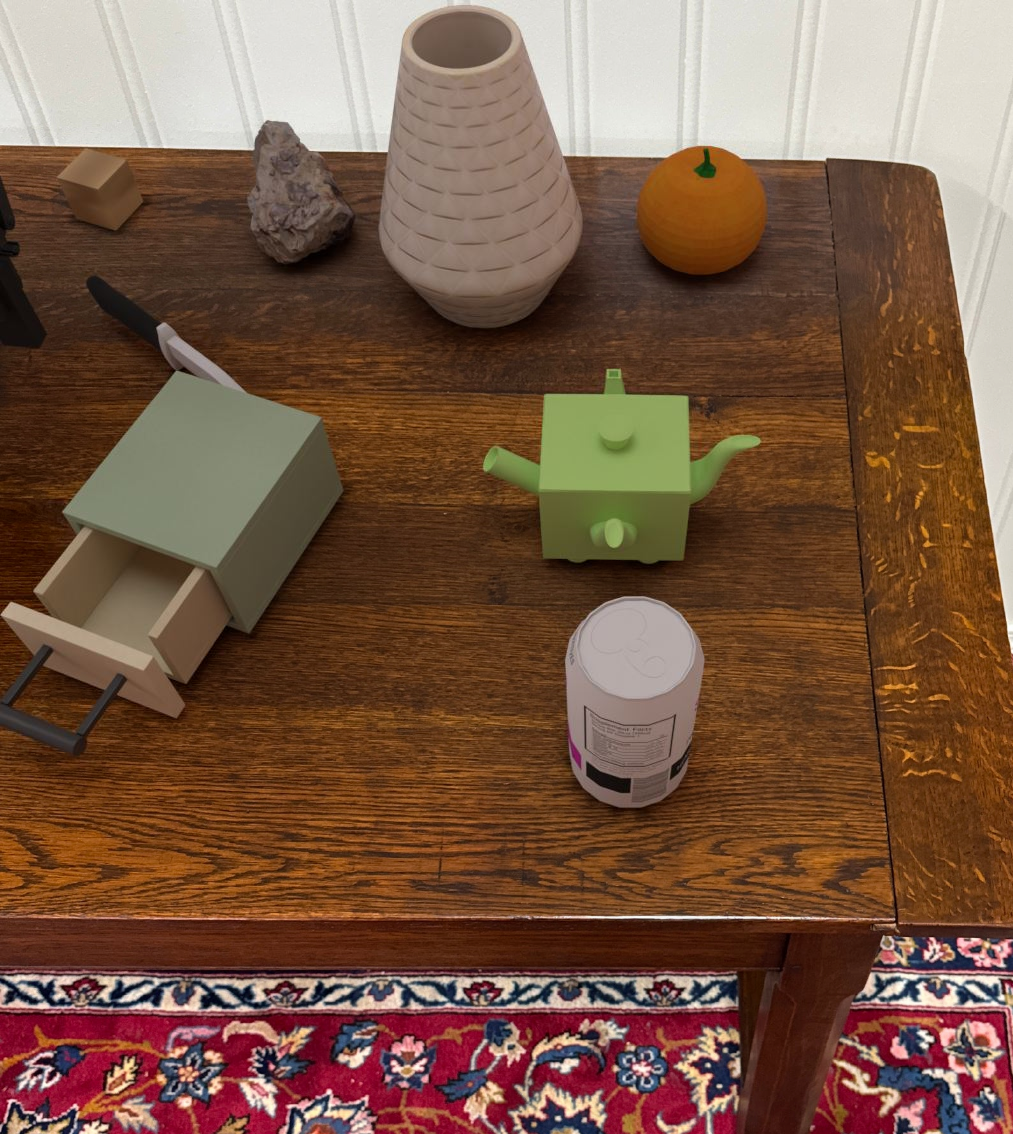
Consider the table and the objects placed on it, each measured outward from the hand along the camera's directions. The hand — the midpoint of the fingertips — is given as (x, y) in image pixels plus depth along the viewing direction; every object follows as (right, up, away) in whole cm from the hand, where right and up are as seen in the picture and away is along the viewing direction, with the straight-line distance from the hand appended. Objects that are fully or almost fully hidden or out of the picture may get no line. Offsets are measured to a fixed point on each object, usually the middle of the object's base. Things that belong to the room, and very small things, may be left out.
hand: (25, 339), depth 81 cm
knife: (+7, +1, +16) cm, 18 cm away
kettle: (+42, -13, +8) cm, 45 cm away
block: (-6, +20, +28) cm, 35 cm away
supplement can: (+43, -30, -2) cm, 52 cm away
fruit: (+51, +15, +24) cm, 58 cm away
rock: (+13, +16, +25) cm, 33 cm away
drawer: (+7, -22, +1) cm, 24 cm away
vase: (+31, +11, +22) cm, 40 cm away
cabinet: (+12, -13, +8) cm, 19 cm away
